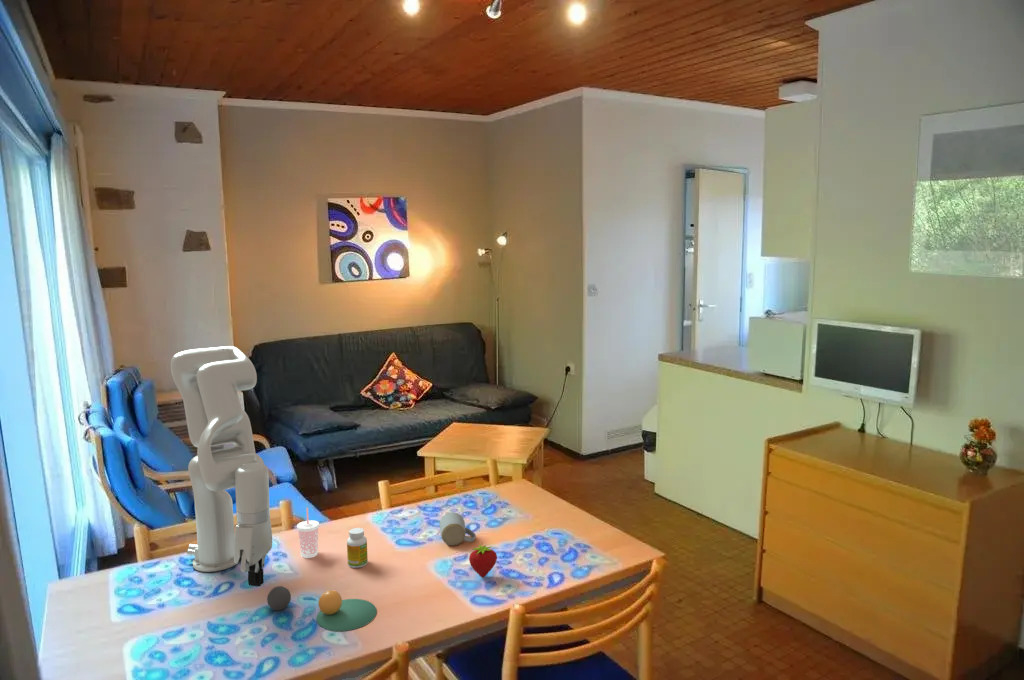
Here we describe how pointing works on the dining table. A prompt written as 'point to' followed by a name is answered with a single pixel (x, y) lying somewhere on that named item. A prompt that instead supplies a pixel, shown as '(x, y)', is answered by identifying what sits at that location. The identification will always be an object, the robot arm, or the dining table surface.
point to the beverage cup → (308, 537)
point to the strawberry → (482, 560)
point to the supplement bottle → (357, 548)
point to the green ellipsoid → (348, 616)
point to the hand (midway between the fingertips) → (256, 584)
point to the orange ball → (330, 602)
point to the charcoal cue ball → (278, 598)
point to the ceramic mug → (454, 529)
